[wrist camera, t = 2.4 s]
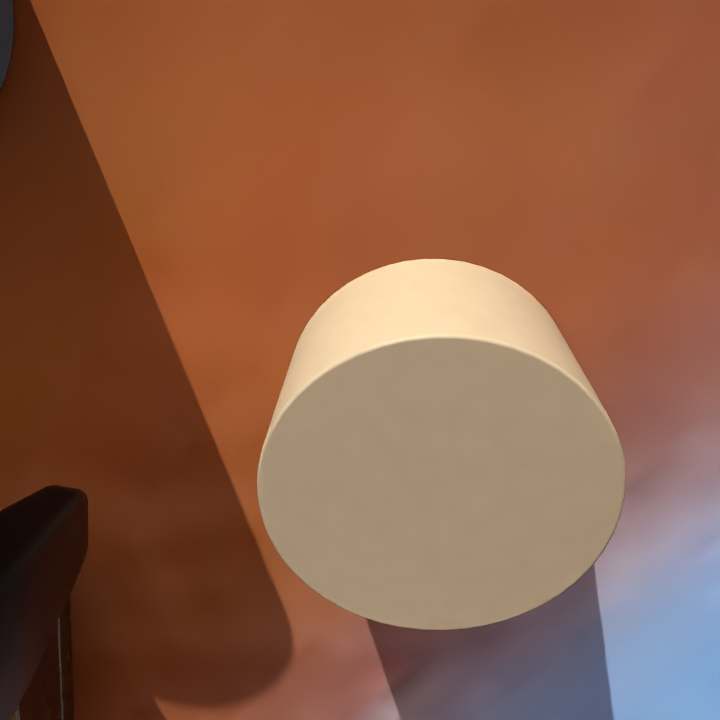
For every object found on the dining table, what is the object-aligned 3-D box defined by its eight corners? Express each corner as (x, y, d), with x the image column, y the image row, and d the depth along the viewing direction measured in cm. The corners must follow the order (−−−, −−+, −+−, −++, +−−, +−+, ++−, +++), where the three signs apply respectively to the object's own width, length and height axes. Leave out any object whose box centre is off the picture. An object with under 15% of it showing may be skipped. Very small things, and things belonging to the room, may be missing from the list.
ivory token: (612, 290, 11) (689, 378, 8) (521, 522, 13) (557, 655, 10) (312, 230, 11) (281, 299, 8) (273, 477, 13) (239, 600, 10)
